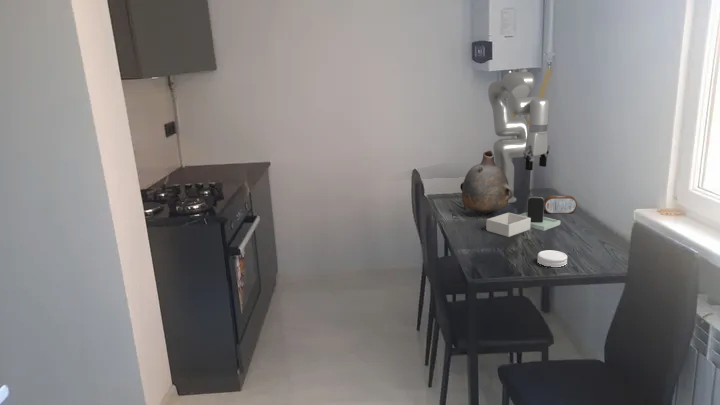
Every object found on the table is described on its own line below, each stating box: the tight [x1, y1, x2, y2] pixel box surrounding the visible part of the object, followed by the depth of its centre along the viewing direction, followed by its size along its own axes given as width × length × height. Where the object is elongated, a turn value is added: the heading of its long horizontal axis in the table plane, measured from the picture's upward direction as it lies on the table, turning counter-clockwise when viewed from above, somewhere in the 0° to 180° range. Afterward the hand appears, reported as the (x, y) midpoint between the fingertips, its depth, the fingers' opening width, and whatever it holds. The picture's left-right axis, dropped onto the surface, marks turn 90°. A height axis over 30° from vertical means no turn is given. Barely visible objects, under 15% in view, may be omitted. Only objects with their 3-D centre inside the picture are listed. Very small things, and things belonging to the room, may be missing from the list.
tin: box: [544, 194, 578, 215], centre depth 248 cm, size 15×3×8 cm, turn 84°
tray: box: [518, 212, 561, 232], centre depth 236 cm, size 18×12×2 cm, turn 37°
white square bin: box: [485, 212, 531, 238], centre depth 228 cm, size 12×15×5 cm
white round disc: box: [537, 249, 568, 267], centre depth 191 cm, size 10×10×4 cm
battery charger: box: [526, 195, 545, 222], centre depth 235 cm, size 7×4×11 cm, turn 78°
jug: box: [460, 150, 514, 215], centre depth 248 cm, size 24×21×30 cm
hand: (535, 168), depth 231 cm, fingers open, 9 cm apart
